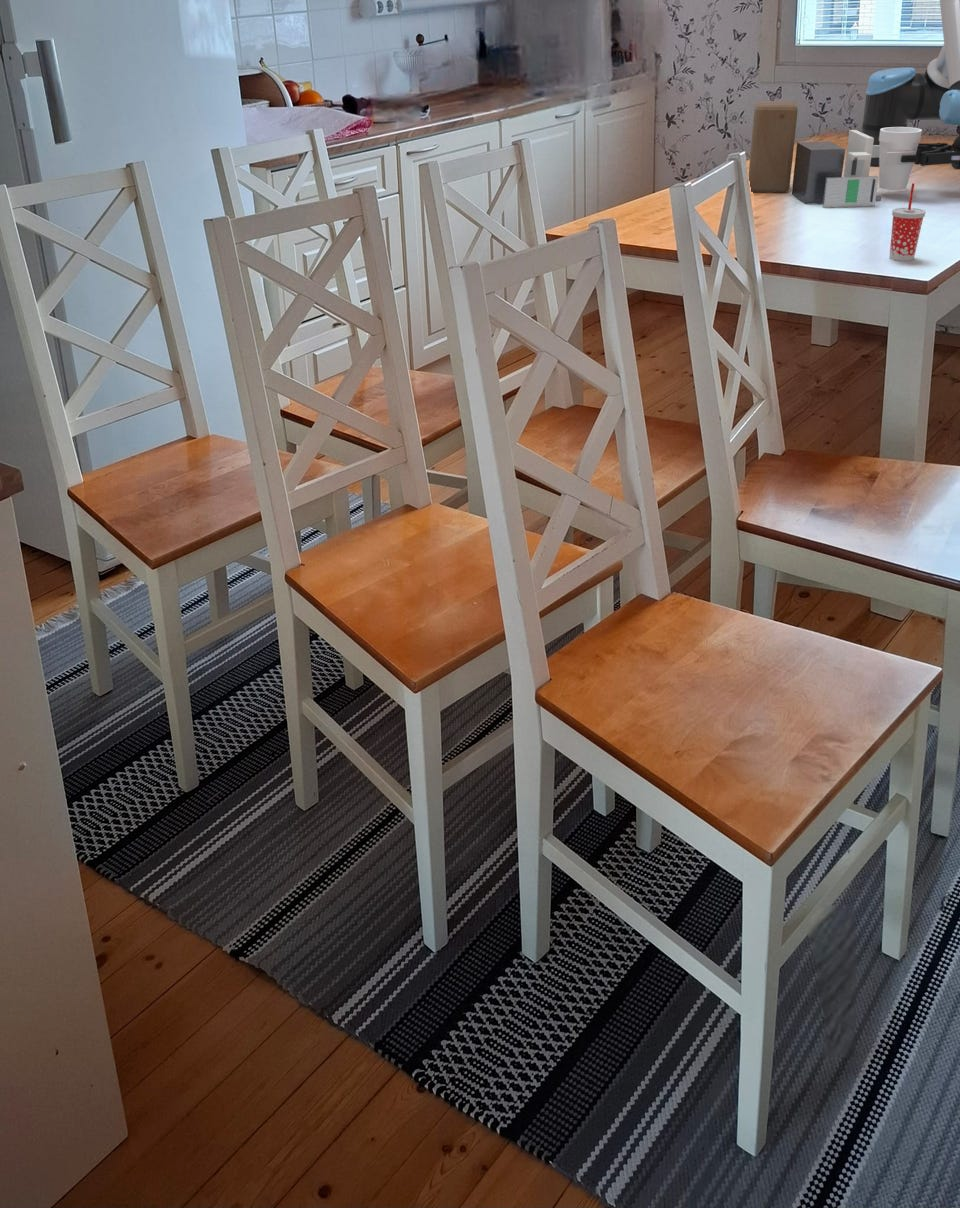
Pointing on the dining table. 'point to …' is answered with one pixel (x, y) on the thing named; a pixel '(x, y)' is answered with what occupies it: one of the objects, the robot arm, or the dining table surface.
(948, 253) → the dining table surface
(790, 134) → the wooden block
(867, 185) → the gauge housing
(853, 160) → the gauge slider
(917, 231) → the beverage cup
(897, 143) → the foam cup
